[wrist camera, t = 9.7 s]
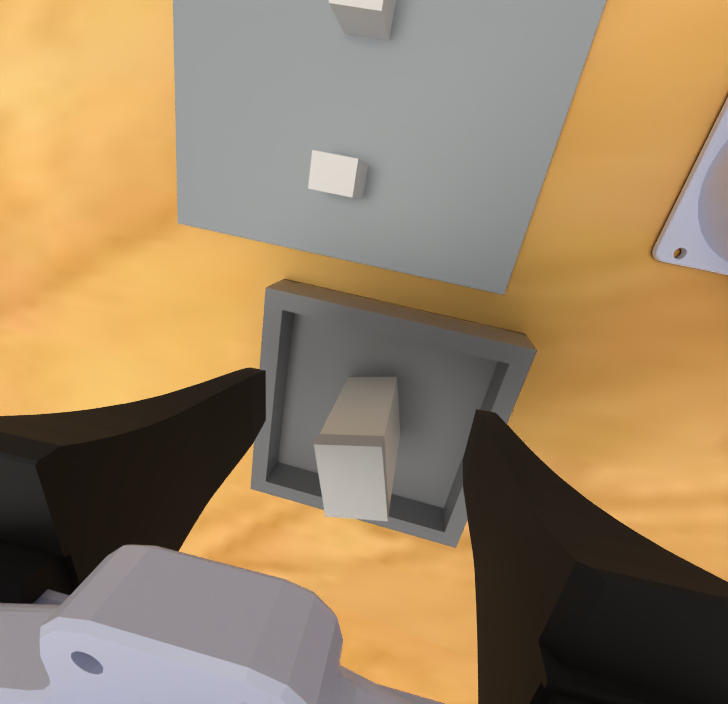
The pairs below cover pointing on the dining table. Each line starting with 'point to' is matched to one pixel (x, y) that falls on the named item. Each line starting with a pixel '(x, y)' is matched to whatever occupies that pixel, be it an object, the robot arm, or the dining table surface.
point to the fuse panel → (376, 125)
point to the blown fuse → (360, 449)
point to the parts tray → (415, 395)
